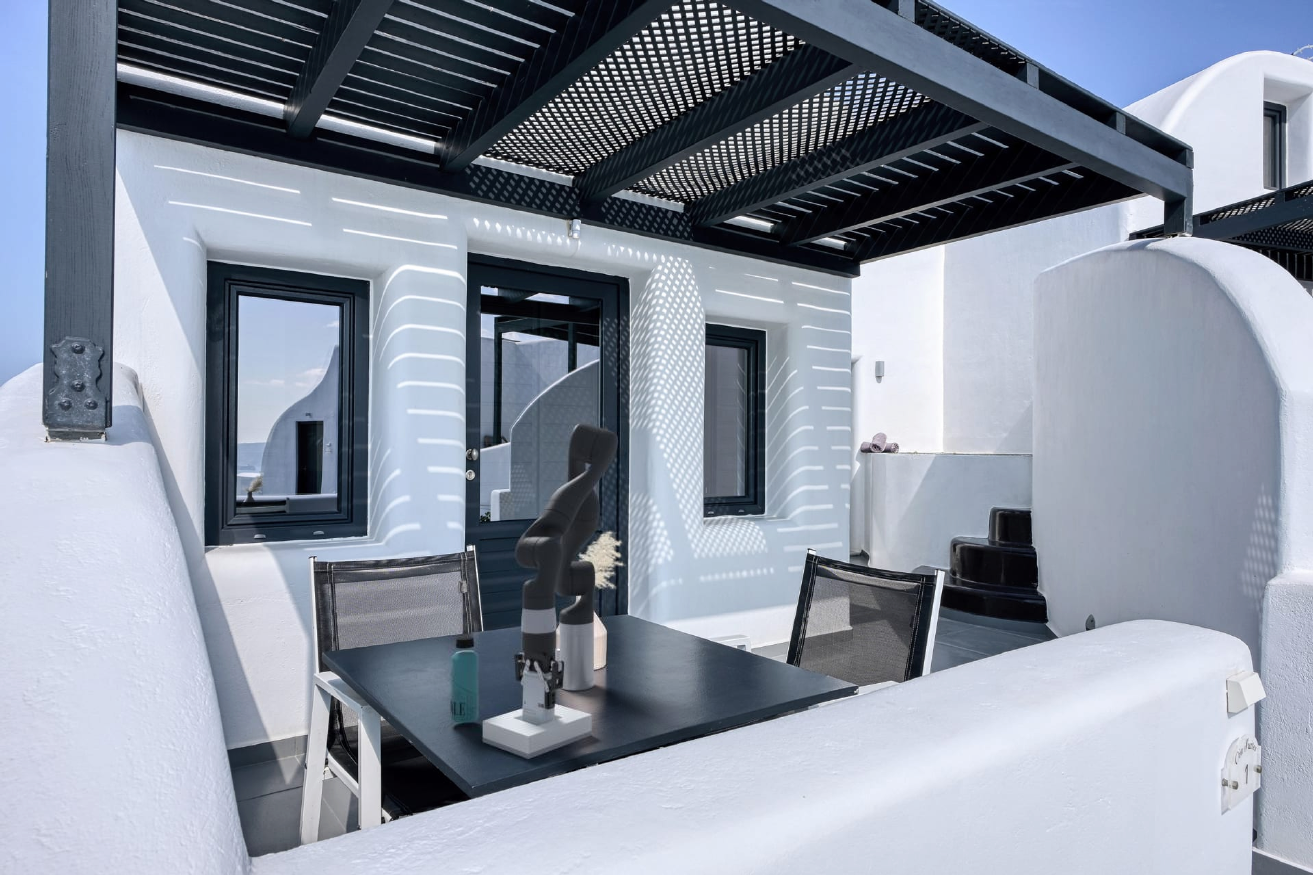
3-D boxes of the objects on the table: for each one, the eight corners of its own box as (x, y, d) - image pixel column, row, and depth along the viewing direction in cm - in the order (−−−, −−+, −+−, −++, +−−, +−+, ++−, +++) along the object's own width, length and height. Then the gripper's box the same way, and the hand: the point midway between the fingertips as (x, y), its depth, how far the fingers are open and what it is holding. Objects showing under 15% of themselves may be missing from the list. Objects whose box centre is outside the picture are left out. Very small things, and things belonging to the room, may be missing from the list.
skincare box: (521, 727, 171) (521, 671, 171) (534, 721, 175) (534, 666, 175) (543, 732, 168) (543, 675, 168) (556, 726, 172) (556, 670, 172)
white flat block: (482, 741, 169) (482, 720, 169) (546, 720, 183) (546, 701, 183) (528, 759, 159) (528, 736, 160) (591, 735, 173) (591, 714, 173)
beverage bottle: (481, 720, 184) (482, 633, 184) (476, 729, 177) (476, 640, 177) (453, 720, 183) (454, 634, 184) (447, 730, 177) (447, 640, 177)
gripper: (574, 629, 170) (574, 707, 170) (530, 621, 179) (530, 695, 179) (548, 635, 164) (548, 716, 164) (504, 626, 174) (504, 703, 173)
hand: (538, 705), depth 171 cm, fingers closed on skincare box, 6 cm apart
